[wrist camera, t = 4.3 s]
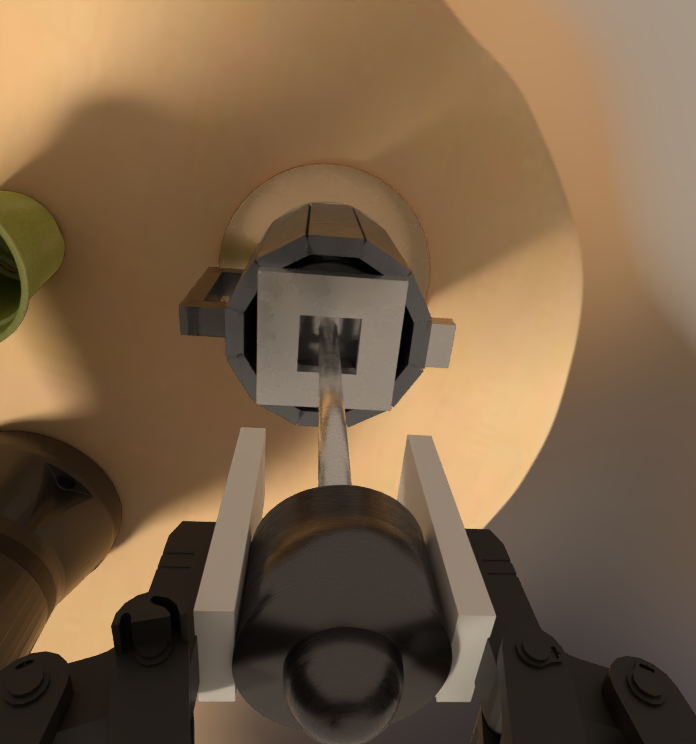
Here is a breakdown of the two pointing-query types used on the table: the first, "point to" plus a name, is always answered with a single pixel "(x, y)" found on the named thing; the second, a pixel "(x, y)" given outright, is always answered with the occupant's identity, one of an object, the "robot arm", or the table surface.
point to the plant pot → (25, 255)
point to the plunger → (338, 584)
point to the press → (321, 291)
